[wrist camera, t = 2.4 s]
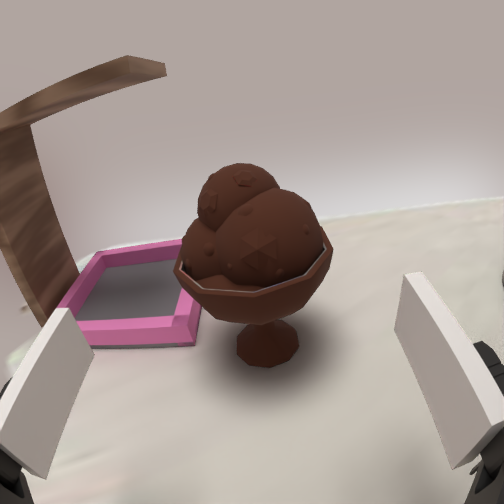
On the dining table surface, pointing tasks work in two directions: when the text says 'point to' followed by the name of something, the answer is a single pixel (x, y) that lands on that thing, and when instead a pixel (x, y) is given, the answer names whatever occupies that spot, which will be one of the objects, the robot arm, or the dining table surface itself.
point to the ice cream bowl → (253, 259)
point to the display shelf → (34, 187)
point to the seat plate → (133, 299)
